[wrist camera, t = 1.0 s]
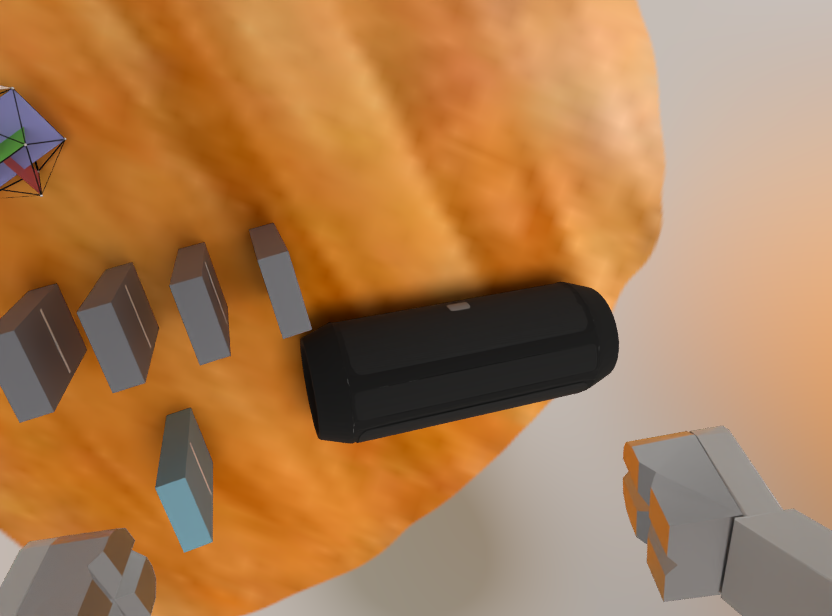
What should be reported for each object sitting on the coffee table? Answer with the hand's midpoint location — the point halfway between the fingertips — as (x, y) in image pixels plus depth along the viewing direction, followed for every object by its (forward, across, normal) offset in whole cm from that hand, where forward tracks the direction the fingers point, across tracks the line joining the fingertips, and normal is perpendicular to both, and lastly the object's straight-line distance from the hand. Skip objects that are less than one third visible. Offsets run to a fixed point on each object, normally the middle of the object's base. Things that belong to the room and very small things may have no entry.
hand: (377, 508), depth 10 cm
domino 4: (+33, +22, +27) cm, 48 cm away
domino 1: (+34, +27, +14) cm, 46 cm away
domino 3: (+37, +17, +15) cm, 43 cm away
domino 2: (+36, +22, +15) cm, 44 cm away
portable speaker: (+40, -1, +27) cm, 48 cm away
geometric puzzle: (+38, +26, +2) cm, 46 cm away
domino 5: (+39, +11, +15) cm, 43 cm away
